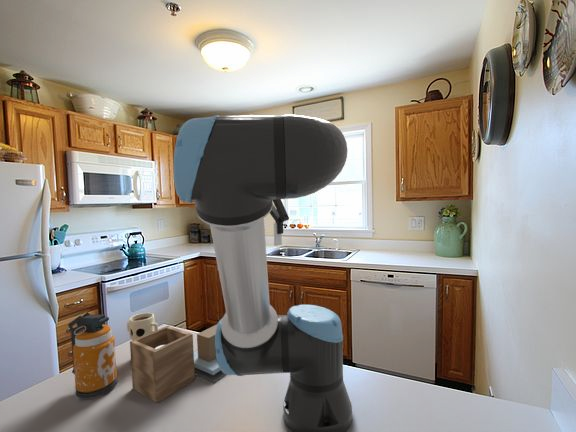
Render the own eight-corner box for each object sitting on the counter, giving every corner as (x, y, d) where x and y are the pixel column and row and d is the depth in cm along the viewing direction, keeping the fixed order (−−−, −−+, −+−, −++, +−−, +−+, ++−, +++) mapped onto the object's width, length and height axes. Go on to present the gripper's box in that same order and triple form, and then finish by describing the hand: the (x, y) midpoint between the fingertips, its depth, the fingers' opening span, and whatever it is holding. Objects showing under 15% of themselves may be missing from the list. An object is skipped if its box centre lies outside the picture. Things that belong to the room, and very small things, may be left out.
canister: (97, 403, 71) (92, 322, 70) (60, 398, 73) (54, 320, 72) (125, 381, 80) (120, 308, 79) (90, 377, 82) (86, 307, 81)
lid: (245, 357, 89) (244, 327, 89) (213, 379, 78) (211, 345, 78) (215, 346, 96) (214, 318, 96) (182, 366, 86) (180, 334, 85)
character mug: (120, 361, 90) (117, 320, 89) (137, 350, 97) (135, 311, 96) (151, 365, 87) (148, 322, 87) (166, 353, 94) (164, 313, 94)
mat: (249, 358, 89) (249, 357, 89) (214, 383, 77) (214, 381, 77) (214, 346, 97) (214, 345, 97) (178, 367, 86) (178, 365, 86)
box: (194, 379, 80) (192, 334, 79) (157, 403, 70) (154, 352, 70) (169, 367, 86) (167, 325, 85) (132, 388, 76) (129, 341, 76)
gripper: (299, 171, 85) (301, 244, 86) (235, 177, 99) (238, 240, 99) (284, 169, 79) (287, 248, 80) (218, 176, 92) (221, 243, 93)
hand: (259, 244), depth 90 cm, fingers open, 13 cm apart
